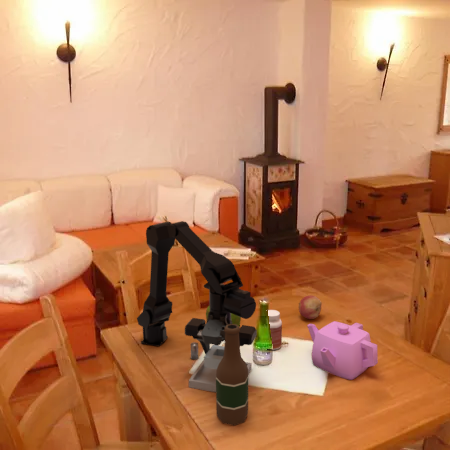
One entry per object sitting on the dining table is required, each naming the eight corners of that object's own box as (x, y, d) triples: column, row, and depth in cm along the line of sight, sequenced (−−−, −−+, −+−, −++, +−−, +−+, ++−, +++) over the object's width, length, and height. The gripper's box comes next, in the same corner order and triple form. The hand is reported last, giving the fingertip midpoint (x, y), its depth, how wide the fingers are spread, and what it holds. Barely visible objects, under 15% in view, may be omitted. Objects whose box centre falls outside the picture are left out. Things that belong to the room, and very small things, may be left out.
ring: (229, 371, 136) (228, 361, 135) (204, 366, 138) (204, 356, 137) (238, 355, 144) (238, 345, 143) (215, 351, 146) (215, 341, 145)
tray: (188, 387, 137) (188, 380, 137) (206, 362, 150) (206, 355, 149) (237, 396, 133) (237, 389, 133) (251, 369, 146) (251, 363, 145)
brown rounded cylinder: (189, 359, 152) (189, 345, 150) (192, 355, 154) (192, 341, 152) (196, 360, 151) (196, 346, 150) (199, 356, 153) (199, 342, 152)
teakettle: (379, 380, 140) (383, 339, 137) (318, 382, 140) (320, 341, 136) (360, 349, 157) (363, 312, 153) (305, 351, 156) (306, 313, 153)
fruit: (305, 324, 173) (306, 302, 171) (294, 315, 180) (294, 294, 178) (325, 320, 175) (326, 299, 173) (313, 311, 182) (314, 290, 180)
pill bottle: (285, 347, 158) (286, 314, 155) (269, 352, 155) (270, 319, 152) (273, 339, 163) (273, 306, 160) (257, 344, 160) (257, 311, 157)
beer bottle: (215, 407, 129) (214, 319, 122) (246, 405, 129) (246, 318, 123) (217, 427, 121) (216, 334, 115) (250, 425, 122) (250, 333, 116)
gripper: (175, 314, 131) (177, 368, 136) (245, 324, 126) (245, 380, 130) (191, 297, 142) (193, 348, 146) (257, 306, 136) (256, 359, 140)
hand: (220, 359), depth 140 cm, fingers closed on ring, 7 cm apart
